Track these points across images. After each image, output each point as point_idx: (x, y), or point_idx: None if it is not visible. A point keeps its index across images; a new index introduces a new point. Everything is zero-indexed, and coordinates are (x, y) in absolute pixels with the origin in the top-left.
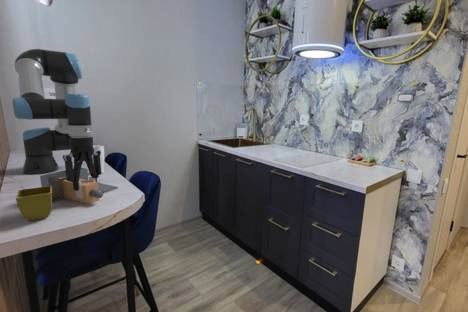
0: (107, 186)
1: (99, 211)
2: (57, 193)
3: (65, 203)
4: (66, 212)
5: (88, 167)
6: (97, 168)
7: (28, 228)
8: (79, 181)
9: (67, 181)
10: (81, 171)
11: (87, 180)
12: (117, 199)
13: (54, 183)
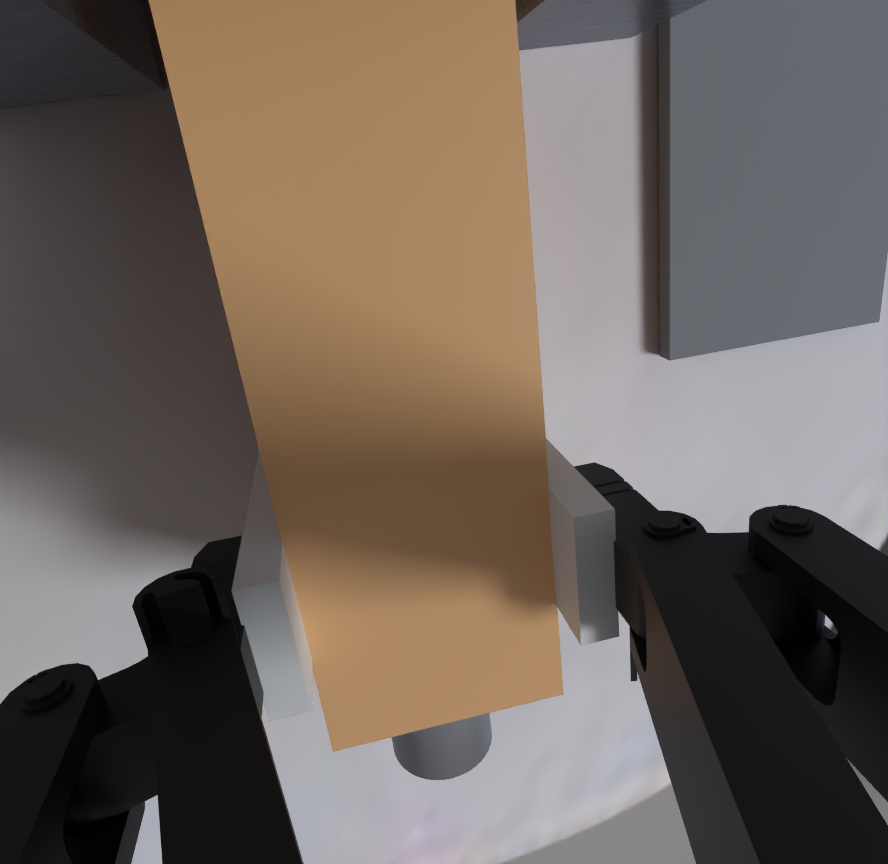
0: (841, 172)
1: (311, 810)
2: (57, 78)
3: (137, 349)
4: (55, 644)
5: (698, 744)
6: (844, 729)
7: None
8: (297, 668)
9: (206, 187)
10: None
11: (532, 456)
12: (593, 656)
13: None
